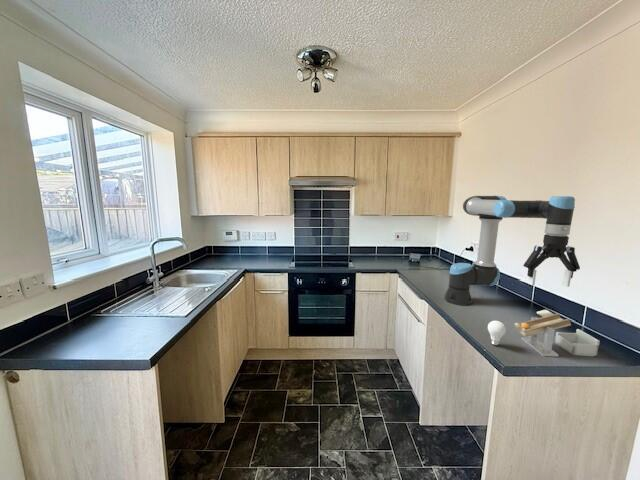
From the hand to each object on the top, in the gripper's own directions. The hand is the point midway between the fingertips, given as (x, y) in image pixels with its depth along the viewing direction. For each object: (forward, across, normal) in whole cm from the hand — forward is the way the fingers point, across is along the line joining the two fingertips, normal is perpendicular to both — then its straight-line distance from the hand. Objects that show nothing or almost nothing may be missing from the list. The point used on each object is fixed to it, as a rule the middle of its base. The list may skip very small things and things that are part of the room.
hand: (548, 284), depth 109 cm
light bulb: (+28, -18, -1) cm, 34 cm away
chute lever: (+20, 0, +3) cm, 20 cm away
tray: (+28, +14, -1) cm, 31 cm away
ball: (+19, -7, -1) cm, 20 cm away
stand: (+28, 0, -1) cm, 28 cm away
